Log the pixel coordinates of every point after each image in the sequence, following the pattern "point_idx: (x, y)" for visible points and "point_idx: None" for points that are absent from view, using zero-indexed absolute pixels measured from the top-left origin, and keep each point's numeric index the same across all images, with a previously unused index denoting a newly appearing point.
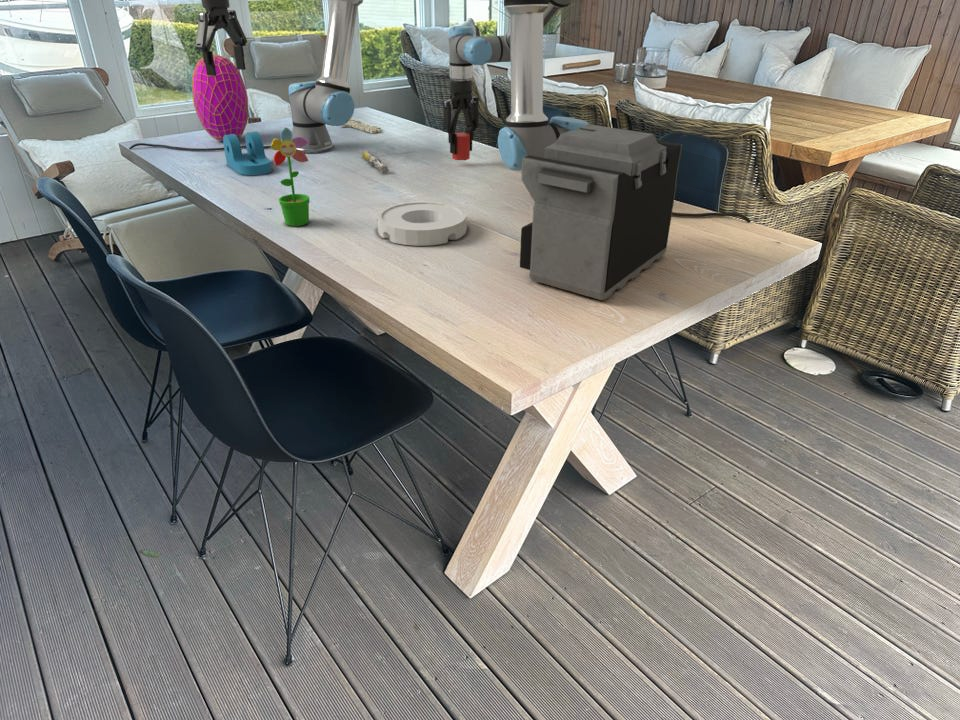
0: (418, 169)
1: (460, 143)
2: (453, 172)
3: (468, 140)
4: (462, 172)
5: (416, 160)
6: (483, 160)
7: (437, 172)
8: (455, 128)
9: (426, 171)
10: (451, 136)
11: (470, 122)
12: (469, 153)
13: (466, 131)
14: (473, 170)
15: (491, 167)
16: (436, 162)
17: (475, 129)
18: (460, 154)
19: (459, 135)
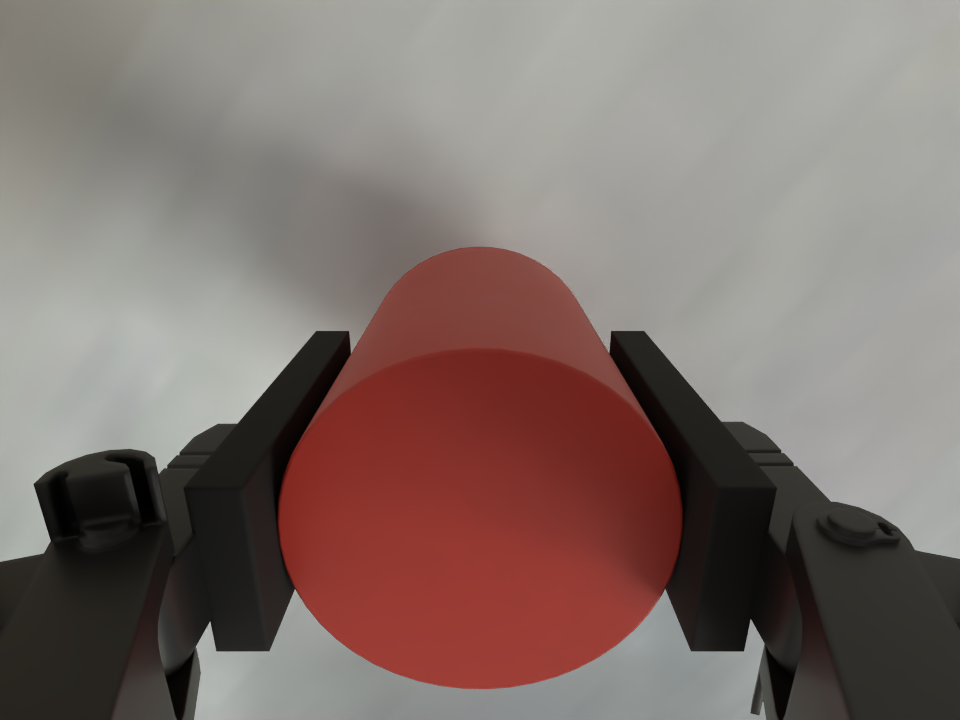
0: (906, 464)
1: (597, 348)
2: (748, 147)
3: (418, 325)
4: (671, 74)
5: (683, 682)
6: (146, 339)
7: (871, 263)
8: (824, 599)
9: (915, 364)
10: (812, 500)
11: (99, 704)
12: (404, 283)
13: (273, 602)
14: (505, 59)
15: (227, 22)
16: None
17: (70, 471)
18: (569, 294)
19: (563, 499)
